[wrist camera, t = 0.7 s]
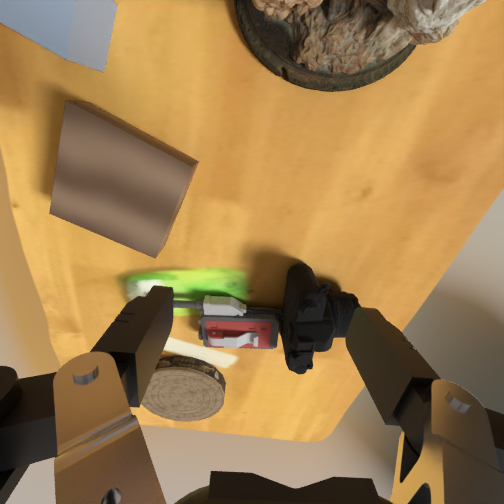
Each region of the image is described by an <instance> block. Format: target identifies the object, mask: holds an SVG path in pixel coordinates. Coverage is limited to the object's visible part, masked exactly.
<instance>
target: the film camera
mask: <svg viewBox="0 0 504 504" xmlns="http://www.w3.org/2000/svg"><path fill="white" fill-rule="evenodd" d="M326 288H330V290H329V291H326V290H324V289H326ZM357 307H361V306H360V305H359V303H358V299H357V297H355V295H354V294H350V293H346V292H331V286H330V285H329V284H323V285H321V286H319V283H318V281H317V279H316V277H315V275H314V273H313V271H312V268H310V267H309V266H308V265H306V264H296V265H294V266H292V267H291V268H290V269H289V270H288V275H287V279H286V288H285V296H284V303H283V311H284V315H283V320H281V333H280V335H281V338H282V343H283V348H284V353H285V360H286V364H287V366H288V368H289V370H291V371H294V372H295V373H297V374H304V373H305V372H306V371H307V369H312V368H313V361H312V358H313V354H314V351H316V352H325V351H328V350H329V349H330V348H331V346H332V342H333V338H335V337H346V333H347V330H348V328H349V325H350V322H351V320H352V317H353V314H354V311H355V309H356V308H357Z"/></svg>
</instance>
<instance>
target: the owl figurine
mask: <svg viewBox="0 0 504 504" xmlns="http://www.w3.org/2000/svg"><path fill="white" fill-rule="evenodd" d="M485 1H486V0H234V4H235V10H236V15H237V19H238V22H239V25H240V28H241V30H242V33H243V36H244V38H245V40H246V42H247V43H248V45H249V47H250V49H251V50H252V53H254V54H255V56H256V57H257V58H258V59H259V61H261V62H262V64H263V65H265V66H266V67H267V68H269V69H270V70H271V71H272V72H273V74H276V75H277V76H281V75H282V69H281V68H282V67H284V68H285V70H286V73H287V75H288V77H285V80H286V81H288V82H290V83H292V84H295V85H297V86H300V87H303V88H306V89H313V90H319V91H327V92H333V91H338V92H339V91H346V90H353V89H356V88H360V87H363V86H366V85H368V84H371V83H374V82H376V81H378V80H380V79H381V78H384V77H385V76H386V75H388V74H390V73H391V72H392V71H393V70H395V69H396V68H398V67H399V66H400V65H401V64H402V63H403V62H404V61H405V60H406V59H407V58H408V56H409V55H410V54H411V53H412V51H413V50H414V49H415V47H416V45H418V44H420V45H421V44H424V45H425V44H427V43H437V42H439V41H440V40H441V39H442V38H444V37H446V36H448V35H450V34H451V33H452V32H453V30H454V29H455V27H456V25H458V23H459V22H458V19H459V18H460V17H462V16H463V15H464V14H465V13H466V12H467V11H469V10H471V9H472V8H473V7H476V6H478V5H480V4H482V3H484V2H485Z"/></svg>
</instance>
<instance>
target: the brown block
mask: <svg viewBox="0 0 504 504" xmlns="http://www.w3.org/2000/svg"><path fill="white" fill-rule="evenodd" d="M198 163H199V161H197V160H195V159H193V158H191V157H189V156H187V155H186V154H184V153H182V152H180V151H178V150H176V149H175V148H173V147H171V146H169V145H167V144H165V143H163V142H162V141H160V140H158V139H156V138H154V137H152V136H150V135H149V134H147V133H145V132H143V131H141V130H139V129H137V128H136V127H134V126H132V125H130V124H128V123H126V122H124V121H123V120H121V119H119V118H117V117H115V116H113V115H111V114H110V113H108V112H106V111H104V110H102V109H100V108H98V107H97V106H95V105H93V104H91V103H87V102H78V101H70V100H66V101H65V108H64V115H63V122H62V129H61V136H60V143H59V150H58V157H57V164H56V171H55V178H54V185H53V192H52V199H51V206H50V213H49V214H52V215H54V216H56V217H59V218H61V219H63V220H66V221H68V222H71V223H73V224H75V225H78V226H80V227H82V228H85V229H87V230H89V231H92V232H94V233H97V234H99V235H101V236H104V237H106V238H108V239H111V240H113V241H115V242H118V243H120V244H123V245H125V246H127V247H130V248H132V249H134V250H137V251H139V252H141V253H144V254H146V255H148V256H151V257H153V258H156V257H157V256H158V254H159V253H160V251H161V250H162V248H163V247H164V246H165V244H166V241H167V239H168V236H169V234H170V231H171V229H172V227H173V224H174V222H175V219H176V217H177V214H178V212H179V209H180V207H181V204H182V202H183V200H184V197H185V195H186V192H187V190H188V187H189V185H190V182H191V180H192V178H193V175H194V173H195V170H196V168H197V165H198Z"/></svg>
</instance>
